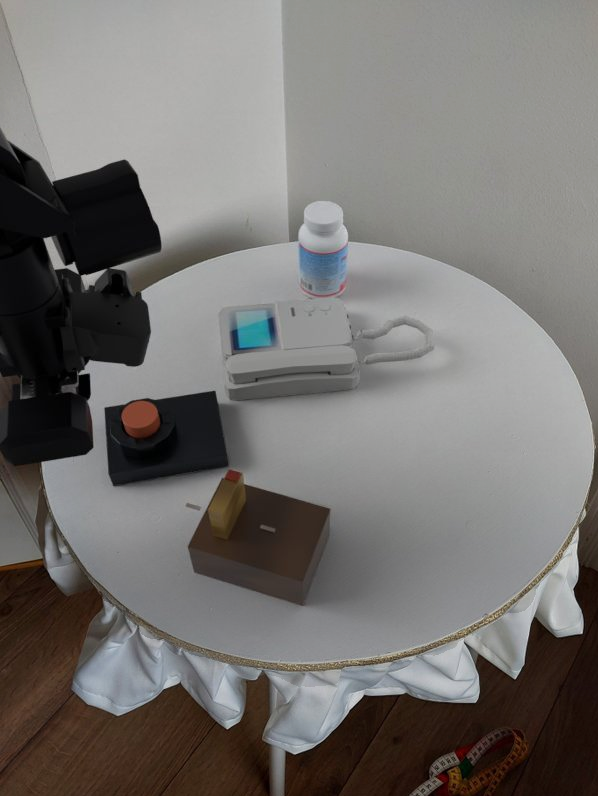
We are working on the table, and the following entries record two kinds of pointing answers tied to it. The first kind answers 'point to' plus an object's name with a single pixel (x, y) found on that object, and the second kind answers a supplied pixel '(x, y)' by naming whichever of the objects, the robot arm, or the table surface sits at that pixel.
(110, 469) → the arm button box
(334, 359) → the intercom
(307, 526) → the brown box with slot
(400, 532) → the table surface
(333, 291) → the pill bottle
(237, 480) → the block
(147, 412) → the arm button
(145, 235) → the robot arm
